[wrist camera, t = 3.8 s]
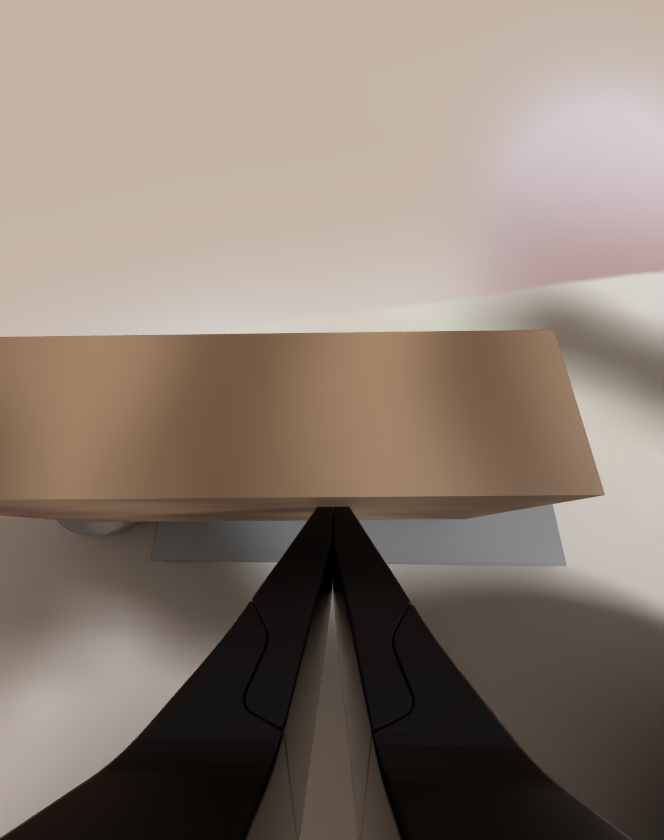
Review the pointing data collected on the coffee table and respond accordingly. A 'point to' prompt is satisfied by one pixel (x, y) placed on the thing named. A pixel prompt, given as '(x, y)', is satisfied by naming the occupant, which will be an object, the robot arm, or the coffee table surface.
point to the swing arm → (288, 426)
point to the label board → (379, 540)
